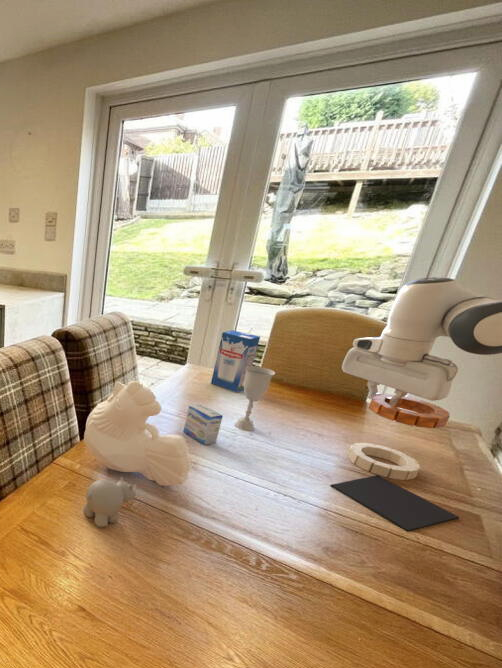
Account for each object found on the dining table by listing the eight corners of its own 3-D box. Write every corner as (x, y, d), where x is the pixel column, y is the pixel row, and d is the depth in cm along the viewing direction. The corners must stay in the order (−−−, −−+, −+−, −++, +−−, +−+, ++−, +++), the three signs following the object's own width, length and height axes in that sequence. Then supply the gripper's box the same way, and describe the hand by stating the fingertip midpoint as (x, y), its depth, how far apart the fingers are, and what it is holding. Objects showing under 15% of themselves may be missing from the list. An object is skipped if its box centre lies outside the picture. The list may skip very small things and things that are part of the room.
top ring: (459, 424, 88) (464, 414, 87) (418, 431, 85) (423, 421, 84) (393, 401, 100) (397, 392, 99) (355, 406, 97) (359, 397, 96)
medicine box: (182, 432, 115) (188, 405, 111) (194, 429, 116) (200, 403, 113) (204, 445, 108) (211, 417, 104) (216, 442, 109) (223, 414, 106)
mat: (458, 518, 82) (459, 516, 81) (407, 531, 78) (408, 530, 78) (377, 476, 95) (377, 474, 95) (330, 486, 91) (330, 484, 91)
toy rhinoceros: (145, 517, 81) (152, 483, 78) (98, 534, 77) (103, 498, 74) (121, 496, 88) (127, 464, 84) (77, 511, 83) (80, 477, 80)
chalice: (264, 429, 116) (281, 373, 109) (247, 434, 114) (264, 376, 107) (241, 419, 122) (256, 364, 116) (225, 422, 120) (239, 367, 113)
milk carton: (246, 389, 144) (260, 336, 137) (236, 392, 142) (250, 339, 134) (220, 380, 152) (232, 330, 145) (210, 383, 150) (222, 332, 142)
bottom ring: (429, 475, 96) (433, 466, 95) (391, 483, 92) (395, 474, 92) (370, 448, 107) (373, 440, 106) (335, 454, 104) (338, 446, 103)
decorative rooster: (67, 425, 104) (99, 379, 82) (116, 405, 109) (158, 357, 87) (119, 515, 94) (170, 490, 72) (170, 489, 98) (233, 458, 77)
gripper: (471, 361, 83) (443, 419, 88) (365, 336, 102) (347, 385, 107) (451, 363, 82) (424, 422, 87) (347, 338, 100) (329, 387, 105)
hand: (381, 402), depth 97 cm, fingers closed on top ring, 2 cm apart
